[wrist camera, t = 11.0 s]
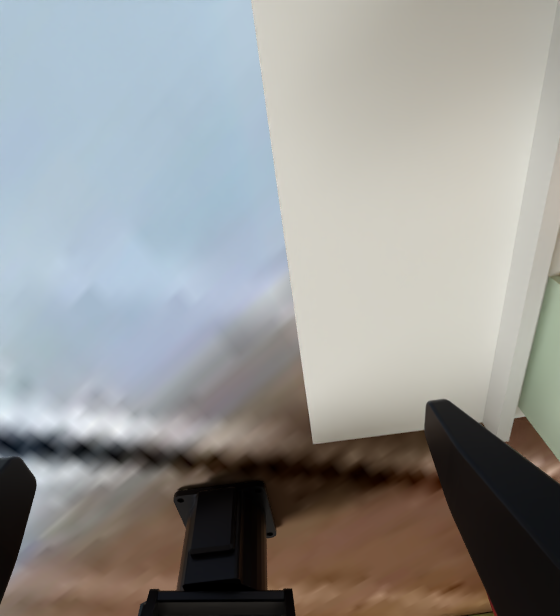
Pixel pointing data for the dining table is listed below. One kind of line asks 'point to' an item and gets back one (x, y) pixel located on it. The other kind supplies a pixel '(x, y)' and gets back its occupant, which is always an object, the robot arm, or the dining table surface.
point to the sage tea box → (545, 371)
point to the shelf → (414, 200)
